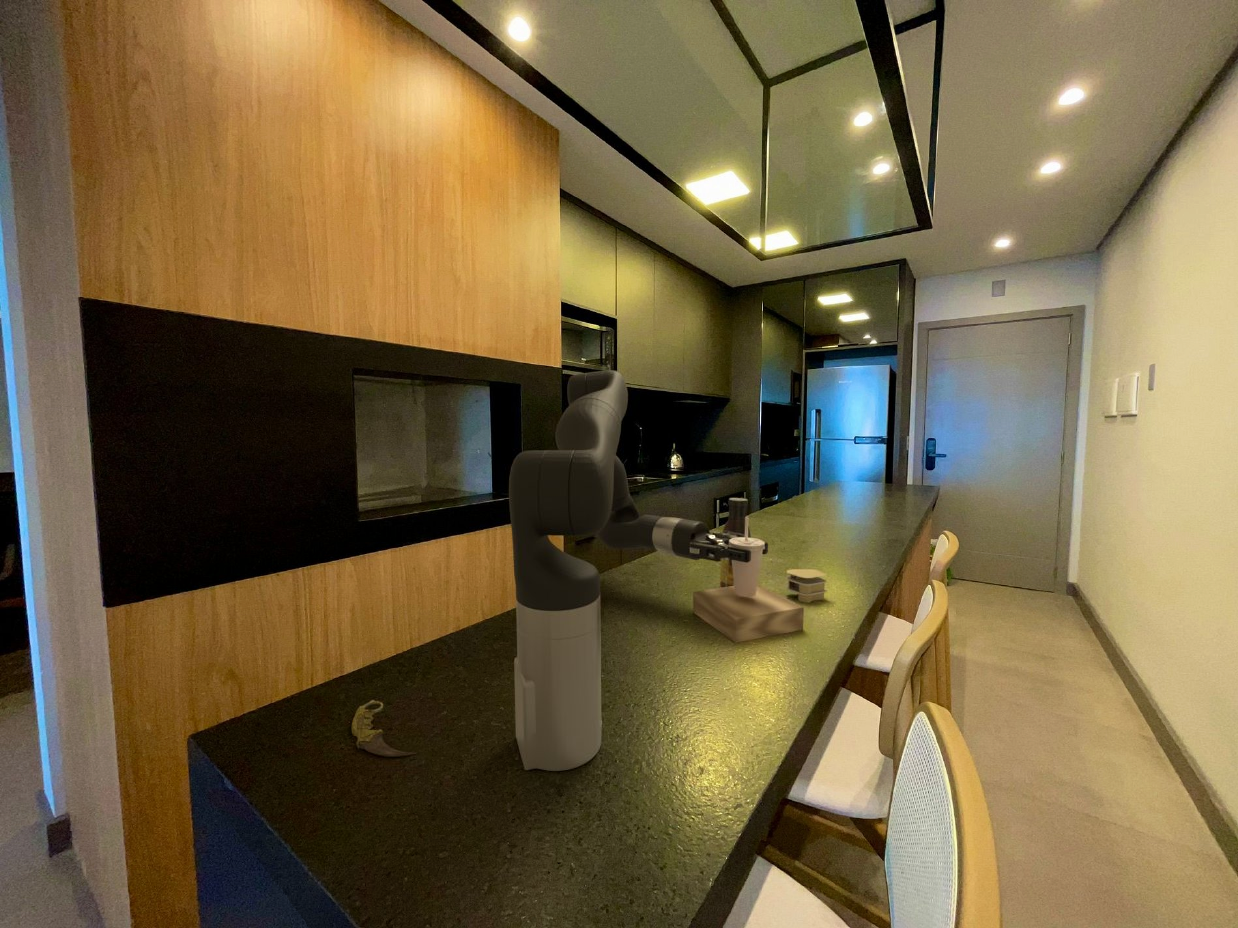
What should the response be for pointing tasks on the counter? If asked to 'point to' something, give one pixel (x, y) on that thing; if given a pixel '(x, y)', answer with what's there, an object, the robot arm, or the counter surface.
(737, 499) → the sauce bottle
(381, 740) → the knife
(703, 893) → the counter surface
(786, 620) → the riser
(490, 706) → the counter surface
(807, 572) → the stacked layers on plate
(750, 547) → the smoothie
